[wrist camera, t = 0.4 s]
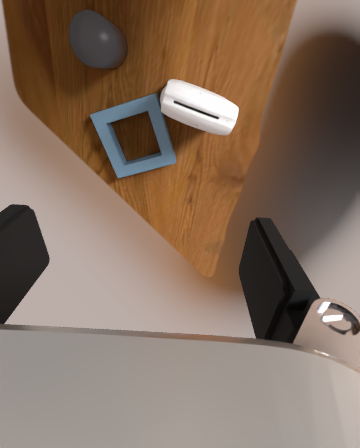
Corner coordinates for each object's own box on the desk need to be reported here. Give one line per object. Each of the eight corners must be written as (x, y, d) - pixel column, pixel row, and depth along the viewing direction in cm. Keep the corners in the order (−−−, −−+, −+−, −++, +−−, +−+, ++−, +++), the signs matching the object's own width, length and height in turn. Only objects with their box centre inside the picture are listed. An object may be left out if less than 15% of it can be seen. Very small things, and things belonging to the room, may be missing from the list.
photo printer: (231, 98, 37) (248, 108, 27) (220, 126, 39) (231, 144, 29) (169, 74, 36) (162, 74, 25) (162, 104, 38) (152, 115, 27)
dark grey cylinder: (82, 29, 33) (59, 19, 27) (118, 15, 32) (102, 2, 26) (100, 73, 36) (82, 73, 30) (132, 62, 35) (121, 59, 29)
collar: (95, 112, 39) (89, 114, 37) (157, 92, 37) (155, 93, 35) (121, 173, 44) (118, 178, 42) (176, 158, 42) (175, 163, 40)
